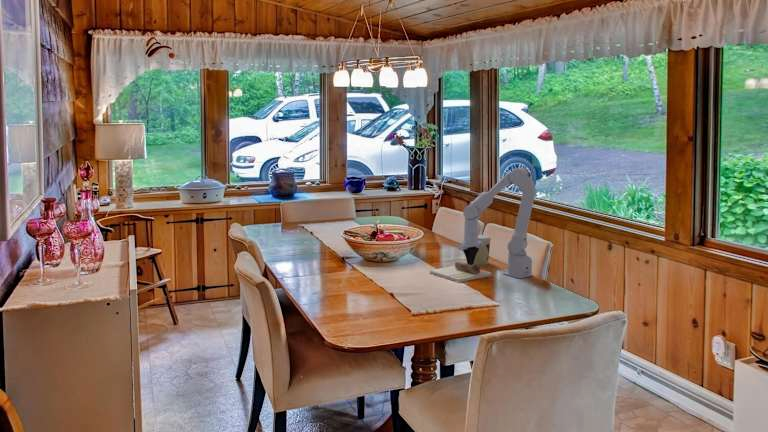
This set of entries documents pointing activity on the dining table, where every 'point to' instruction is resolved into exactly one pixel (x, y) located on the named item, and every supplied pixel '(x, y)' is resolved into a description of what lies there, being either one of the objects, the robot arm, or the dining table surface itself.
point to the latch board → (458, 274)
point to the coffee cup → (483, 250)
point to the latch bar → (467, 267)
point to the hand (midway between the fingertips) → (470, 264)
